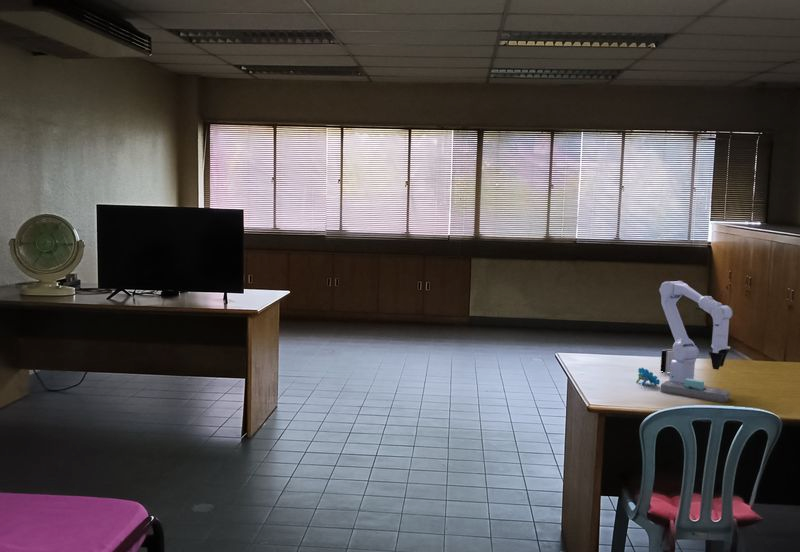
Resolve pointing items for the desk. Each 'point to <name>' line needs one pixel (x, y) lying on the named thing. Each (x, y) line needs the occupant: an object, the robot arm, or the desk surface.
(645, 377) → the blue lumpy piece
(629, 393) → the desk surface
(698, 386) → the upright aqua box
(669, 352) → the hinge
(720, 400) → the grey board with slots
